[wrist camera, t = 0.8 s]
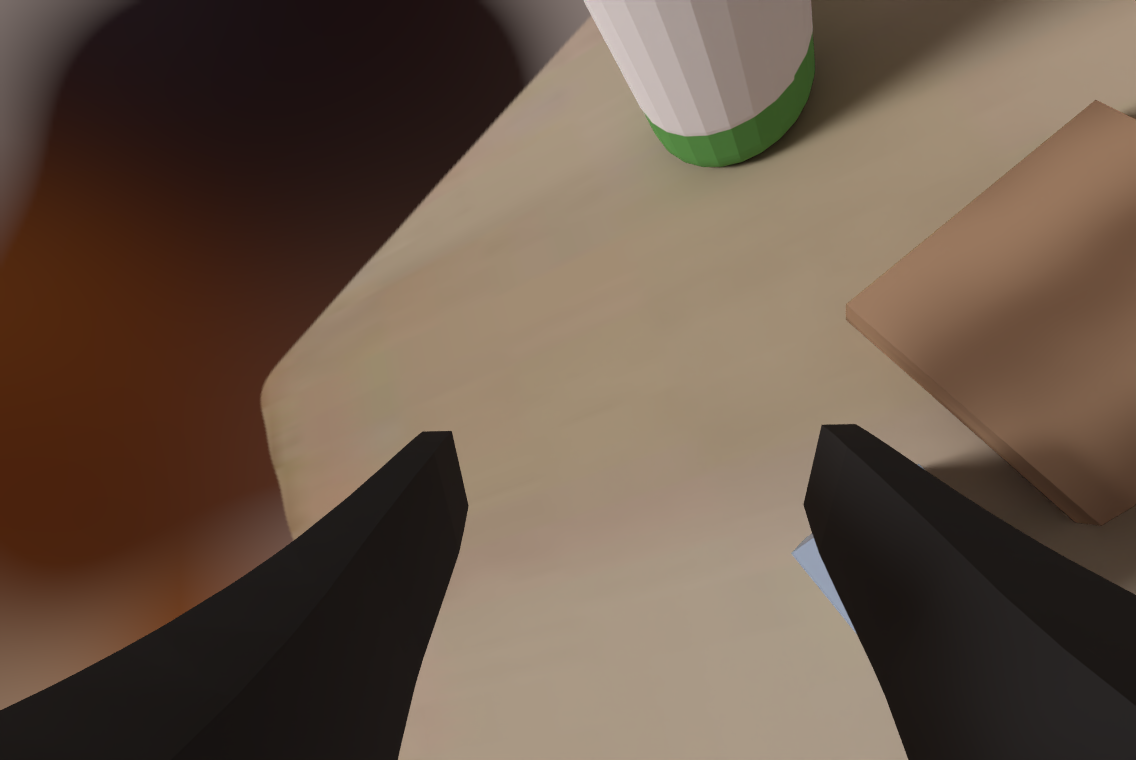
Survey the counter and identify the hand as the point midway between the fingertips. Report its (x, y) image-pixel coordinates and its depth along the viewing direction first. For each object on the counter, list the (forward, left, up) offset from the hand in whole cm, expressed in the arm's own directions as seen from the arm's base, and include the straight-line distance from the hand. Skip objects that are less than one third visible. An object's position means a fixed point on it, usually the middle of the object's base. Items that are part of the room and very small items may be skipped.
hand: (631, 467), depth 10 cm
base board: (-2, -13, -14) cm, 19 cm away
